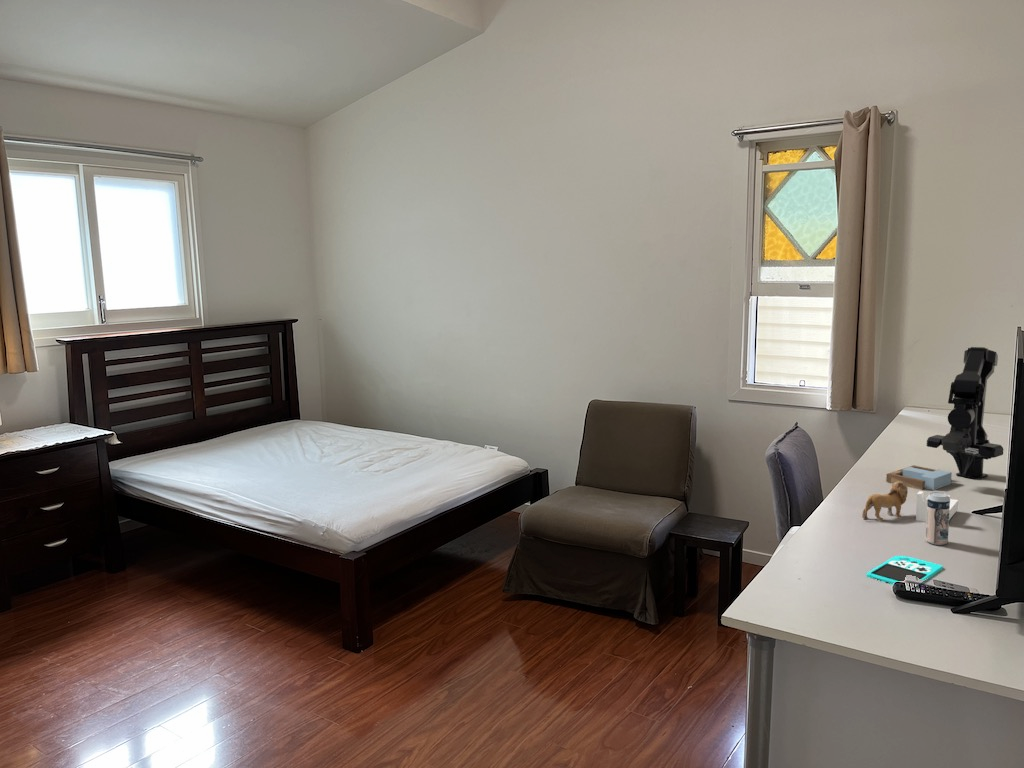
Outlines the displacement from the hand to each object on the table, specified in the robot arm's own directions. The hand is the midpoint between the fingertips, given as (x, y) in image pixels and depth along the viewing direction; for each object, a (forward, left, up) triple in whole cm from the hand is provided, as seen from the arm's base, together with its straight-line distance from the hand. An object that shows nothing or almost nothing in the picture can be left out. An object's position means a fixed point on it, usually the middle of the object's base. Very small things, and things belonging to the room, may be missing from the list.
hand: (962, 474), depth 218 cm
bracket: (+26, +7, -5) cm, 28 cm away
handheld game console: (+67, +21, -6) cm, 71 cm away
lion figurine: (+37, -2, -5) cm, 37 cm away
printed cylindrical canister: (+45, +16, -5) cm, 48 cm away
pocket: (0, -13, -5) cm, 13 cm away
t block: (0, -11, -5) cm, 12 cm away
